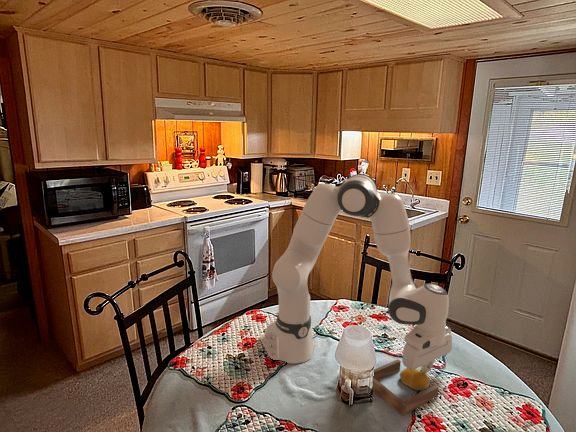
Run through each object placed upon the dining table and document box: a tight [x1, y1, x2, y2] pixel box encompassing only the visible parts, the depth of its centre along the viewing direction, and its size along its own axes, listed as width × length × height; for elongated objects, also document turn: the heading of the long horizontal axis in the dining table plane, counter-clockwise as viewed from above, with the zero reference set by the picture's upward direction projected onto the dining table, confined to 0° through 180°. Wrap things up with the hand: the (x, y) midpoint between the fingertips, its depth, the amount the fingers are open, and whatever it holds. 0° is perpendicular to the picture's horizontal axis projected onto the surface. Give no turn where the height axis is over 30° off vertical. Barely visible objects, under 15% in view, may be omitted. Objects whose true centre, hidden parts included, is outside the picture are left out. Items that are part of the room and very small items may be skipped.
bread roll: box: [399, 367, 430, 391], centre depth 126 cm, size 8×9×4 cm
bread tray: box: [373, 358, 439, 416], centre depth 122 cm, size 16×15×4 cm
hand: (426, 371), depth 129 cm, fingers closed
